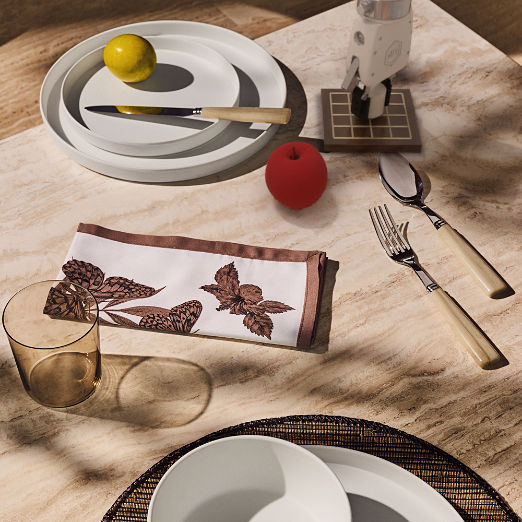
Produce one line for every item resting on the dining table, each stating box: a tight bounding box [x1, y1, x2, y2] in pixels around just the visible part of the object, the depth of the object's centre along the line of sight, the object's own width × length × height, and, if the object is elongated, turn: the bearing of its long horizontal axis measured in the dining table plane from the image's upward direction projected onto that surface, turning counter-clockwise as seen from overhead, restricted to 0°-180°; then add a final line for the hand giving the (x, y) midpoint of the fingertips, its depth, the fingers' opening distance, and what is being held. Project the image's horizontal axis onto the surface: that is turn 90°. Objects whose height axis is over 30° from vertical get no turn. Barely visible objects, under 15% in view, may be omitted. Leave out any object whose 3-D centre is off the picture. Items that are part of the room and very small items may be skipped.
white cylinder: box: [358, 82, 386, 118], centre depth 108 cm, size 4×4×4 cm
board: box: [320, 88, 423, 153], centre depth 110 cm, size 15×15×2 cm
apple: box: [264, 141, 329, 211], centre depth 96 cm, size 9×9×10 cm
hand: (369, 108), depth 109 cm, fingers closed on white cylinder, 4 cm apart
